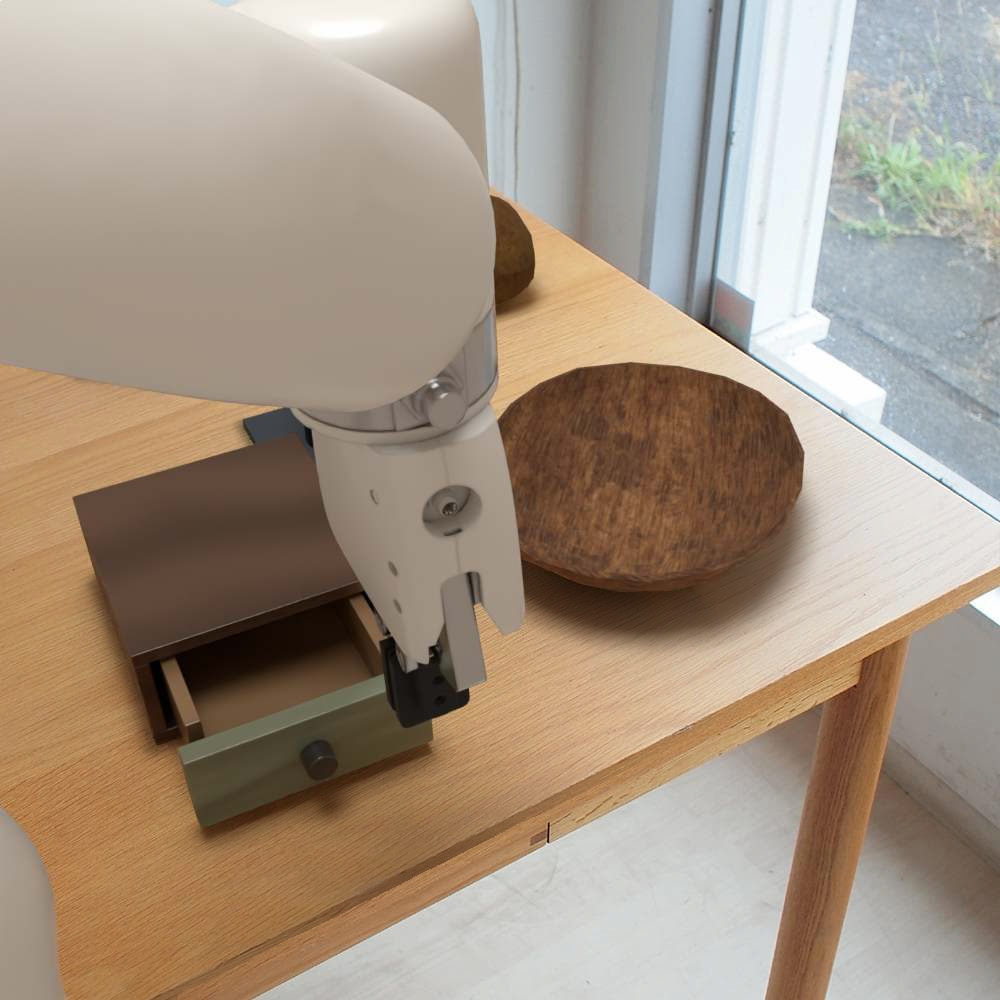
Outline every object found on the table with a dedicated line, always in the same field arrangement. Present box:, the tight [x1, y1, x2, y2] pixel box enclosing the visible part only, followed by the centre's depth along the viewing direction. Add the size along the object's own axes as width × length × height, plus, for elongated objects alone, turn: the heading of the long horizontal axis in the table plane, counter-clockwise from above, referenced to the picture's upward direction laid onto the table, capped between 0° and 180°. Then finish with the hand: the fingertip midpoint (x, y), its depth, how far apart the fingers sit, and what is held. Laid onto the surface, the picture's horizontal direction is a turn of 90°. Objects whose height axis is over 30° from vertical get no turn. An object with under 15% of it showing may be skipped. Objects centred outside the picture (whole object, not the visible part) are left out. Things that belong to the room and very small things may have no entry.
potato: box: [489, 194, 536, 307], centre depth 103 cm, size 8×12×9 cm
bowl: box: [497, 361, 806, 593], centre depth 82 cm, size 20×22×5 cm
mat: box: [242, 407, 316, 464], centre depth 91 cm, size 10×10×1 cm
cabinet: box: [71, 432, 392, 745], centre depth 75 cm, size 15×14×7 cm
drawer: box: [153, 592, 435, 829], centre depth 69 cm, size 15×12×5 cm
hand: (429, 704), depth 57 cm, fingers closed
